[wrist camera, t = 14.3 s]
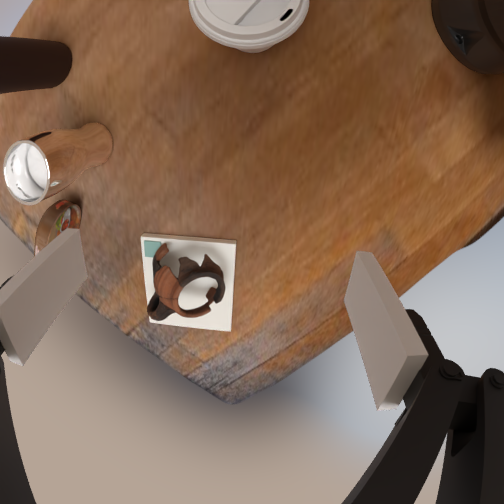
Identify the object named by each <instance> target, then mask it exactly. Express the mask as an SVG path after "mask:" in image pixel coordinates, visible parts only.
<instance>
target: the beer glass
mask: <svg viewBox="0 0 504 504" xmlns="http://www.w3.org/2000/svg"><path fill="white" fill-rule="evenodd" d="M112 147H113V141H112V137H111V134H110V132H109V130H108V129H107V128H106V127H105V126H104V125H102V124H100V123H96V122H91V123H87V124H85V125H83V126H82V127H80V128H79V129H51V130H46V131H42V132H39V133H36V134H34V135H31V136H29V137H27V138H25V139H23V140H20V141H17V142H16V143H14V144H13V145H12V146H11V147H10V148H9V150H8V151H7V154H6V156H5V159H4V166H3V173H4V179H5V183H6V186H7V188H8V190H9V192H10V193H11V195H12V196H13V197H14V198H15V199H16V200H17V201H18V202H20V203H22V204H25V205H35V204H37V203H39V202H40V201H42V200H45V199H47V198H49V197H51V196H53V195H55V194H57V193H59V192H60V191H62V190H63V189H65V188H66V187H68V186H69V185H70V184H72V183H73V182H74V181H75V180H76V179H77V178H78V177H79V176H80V175H81V174H82V173H83V172H84V171H85V170H86V169H87V168H89V167H96V166H99V165H101V164H103V163H104V162H106V160H107V159H108V158H109V156H110V155H111V152H112Z"/></svg>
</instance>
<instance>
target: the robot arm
mask: <svg viewBox="0 0 504 504" xmlns="http://www.w3.org/2000/svg"><path fill="white" fill-rule="evenodd" d="M432 13H433V18H434V22H435V25H436V28H437V30H438V32H439V34H440V36H441V38H442V40H443V42H444V43H445V45H446V46H447V48H448V49H449V50H450V52H451V53H452V54H453V55H454V56H455V57H456V58H457V59H458V60H459V61H460V62H461V63H462V64H464V65H465V66H466V67H468V68H469V69H471V70H473V71H476V72H478V73H482V74H501V73H504V0H432ZM87 278H88V275H87V270H86V265H85V260H84V255H83V249H82V243H81V237H80V230H79V229H72V228H67V229H65V230H64V231H63V232H62V233H61V234H60V235H58V236H57V237H56V238H55V239H54V240H53V241H51V242H50V243H49V244H48V245H47V246H46V247H45V248H43V249H42V250H41V251H40V252H39V253H38V254H37V255H36V256H34V257H33V258H32V259H31V260H30V261H29V262H28V263H27V264H26V265H25V266H24V267H23V268H22V269H21V270H20V271H18V272H17V273H16V274H15V275H14V276H12V277H10V278H9V279H7V280H6V281H5V282H4V283H3V284H2V286H1V287H0V504H36V502H35V499H34V497H33V494H32V491H31V488H30V485H29V482H28V479H27V476H26V473H25V469H24V466H23V462H22V459H21V455H20V452H19V447H18V443H17V439H16V435H15V431H14V426H13V421H12V417H11V411H10V405H9V399H8V393H7V386H6V378H5V370H4V362H3V359H2V357H1V355H2V353H3V352H4V350H5V352H6V354H7V356H8V358H9V360H10V361H11V362H14V363H16V364H20V365H22V366H23V365H24V364H25V362H26V361H27V359H28V358H29V356H30V355H31V353H32V352H33V350H34V349H35V347H36V346H37V345H38V343H39V342H40V340H41V339H42V337H43V336H44V335H45V333H46V332H47V330H48V329H49V328H50V326H51V325H52V323H53V322H54V320H55V319H56V318H57V316H58V315H59V314H60V313H61V311H62V310H63V309H64V307H65V306H66V305H67V303H68V302H69V300H70V299H71V298H72V297H73V296H74V294H75V293H76V292H77V290H78V289H79V288H80V287H81V285H82V284H83V283H84V282H85V280H86V279H87ZM344 303H345V306H346V309H347V312H348V315H349V318H350V321H351V324H352V327H353V330H354V333H355V336H356V339H357V343H358V346H359V349H360V352H361V356H362V359H363V362H364V365H365V369H366V372H367V376H368V379H369V383H370V386H371V390H372V393H373V397H374V401H375V404H376V408H377V410H378V411H380V410H391V409H397V407H398V406H399V404H400V402H401V401H402V399H403V400H404V403H405V406H406V408H405V410H404V411H403V413H402V414H401V416H400V417H399V418H398V420H397V421H396V423H395V427H394V428H393V430H392V432H391V433H390V435H389V437H388V438H387V440H386V441H385V443H384V445H383V446H382V448H381V449H380V451H379V452H378V454H377V455H376V457H375V458H374V460H373V461H372V463H371V465H370V466H369V467H368V469H367V470H366V472H365V473H364V475H363V476H362V477H361V479H360V480H359V481H358V483H357V484H356V486H355V487H354V488H353V490H352V491H351V492H350V494H349V495H348V496H347V497H346V499H345V500H344V501H343V503H342V504H414V502H415V500H416V498H417V497H418V495H419V493H420V491H421V489H422V487H423V485H424V483H425V481H426V479H427V477H428V475H429V473H430V471H431V469H432V467H433V464H434V462H435V460H436V458H437V456H438V453H439V451H440V449H441V446H442V444H443V441H444V439H445V437H446V434H447V441H446V450H445V456H444V463H443V469H442V475H441V481H440V486H439V491H438V495H437V500H436V504H504V373H503V372H502V371H500V370H498V369H495V368H490V369H487V370H486V371H485V372H484V373H483V375H482V376H481V378H479V377H473V376H467V375H465V374H464V372H463V370H462V369H461V367H460V366H459V365H458V364H456V363H455V362H453V361H451V360H448V359H444V356H443V355H442V353H441V351H440V349H439V347H438V345H437V344H436V342H435V340H434V338H433V336H432V335H431V332H430V331H429V329H428V328H427V325H426V324H425V322H424V320H423V318H422V317H421V316H420V315H418V313H416V312H415V311H414V310H411V309H404V307H403V305H402V303H401V301H400V300H399V298H398V296H397V294H396V292H395V291H394V289H393V287H392V285H391V284H390V282H389V280H388V278H387V277H386V275H385V273H384V272H383V270H382V268H381V267H380V265H379V263H378V261H377V260H376V258H375V257H374V255H373V253H372V252H363V251H356V256H355V260H354V264H353V268H352V272H351V276H350V280H349V283H348V287H347V291H346V295H345V298H344Z"/></svg>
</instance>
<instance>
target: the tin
mask: <svg viewBox="0 0 504 504" xmlns="http://www.w3.org/2000/svg"><path fill="white" fill-rule="evenodd" d="M80 221H81V210H80V207H79V206H78V205H76V204H73V203H71V202H69V201H67V200H59V201H57V202H56V203H54V204H53V205H52V206H50V207H49V208H48V209H47V210H46V212H45V213H44V215H43V216H42V218H41V220H40V222H39V225H38V228H37V232H36V238H35V250H34V256H36V255H37V254H38V253H39V252H40V251H41V250H42V249H43V248H45V247H46V246H47V245H48V244H49V243H50V242H51V241H53V240H54V239H55V238H56V237H57V236H58V235H60V234H61V233H62V232H63V231H64V230H65V229H67V228H72V229H79V226H80Z"/></svg>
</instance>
